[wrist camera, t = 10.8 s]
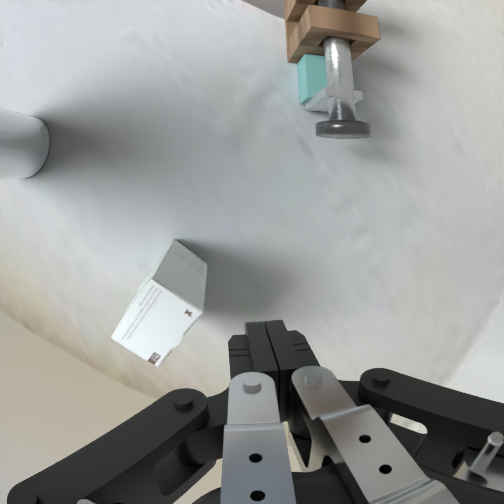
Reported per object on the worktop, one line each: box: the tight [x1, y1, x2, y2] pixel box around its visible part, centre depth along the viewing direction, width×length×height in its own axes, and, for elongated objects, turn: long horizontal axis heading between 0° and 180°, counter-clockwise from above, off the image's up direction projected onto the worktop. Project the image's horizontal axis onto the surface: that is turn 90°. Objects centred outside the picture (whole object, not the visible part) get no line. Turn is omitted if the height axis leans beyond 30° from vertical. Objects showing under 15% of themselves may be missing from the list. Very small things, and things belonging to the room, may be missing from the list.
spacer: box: [297, 54, 327, 104], centre depth 35 cm, size 5×6×4 cm
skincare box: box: [112, 240, 208, 367], centre depth 34 cm, size 8×6×15 cm
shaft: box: [305, 0, 370, 139], centre depth 31 cm, size 6×21×10 cm, turn 2°
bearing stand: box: [284, 0, 381, 63], centre depth 29 cm, size 8×10×13 cm
